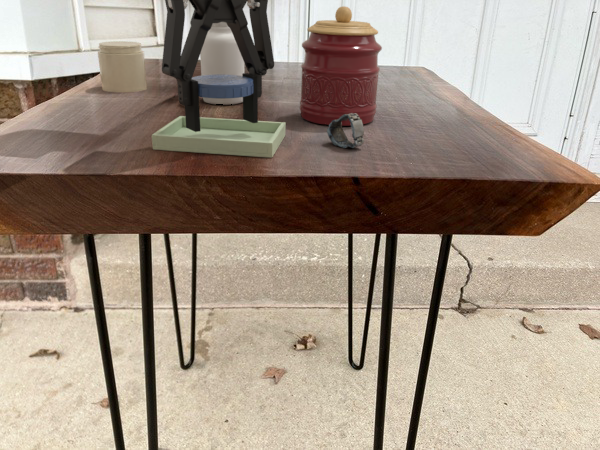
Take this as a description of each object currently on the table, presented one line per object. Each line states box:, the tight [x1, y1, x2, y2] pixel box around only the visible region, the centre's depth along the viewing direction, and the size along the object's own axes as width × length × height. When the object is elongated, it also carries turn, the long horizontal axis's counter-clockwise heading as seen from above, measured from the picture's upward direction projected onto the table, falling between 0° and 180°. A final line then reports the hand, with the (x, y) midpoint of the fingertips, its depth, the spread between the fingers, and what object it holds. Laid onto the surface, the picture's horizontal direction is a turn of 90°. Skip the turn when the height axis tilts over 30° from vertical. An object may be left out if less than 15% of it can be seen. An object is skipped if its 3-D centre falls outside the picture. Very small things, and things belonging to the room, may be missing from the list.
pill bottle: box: [199, 22, 245, 106], centre depth 96 cm, size 8×8×15 cm
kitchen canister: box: [299, 5, 383, 127], centre depth 86 cm, size 13×13×18 cm
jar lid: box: [192, 75, 254, 99], centre depth 71 cm, size 9×9×2 cm
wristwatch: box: [326, 113, 365, 149], centre depth 73 cm, size 3×5×5 cm
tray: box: [151, 115, 287, 159], centre depth 74 cm, size 16×11×2 cm
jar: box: [97, 40, 148, 94], centre depth 97 cm, size 8×8×10 cm
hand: (222, 124), depth 73 cm, fingers closed on jar lid, 8 cm apart
